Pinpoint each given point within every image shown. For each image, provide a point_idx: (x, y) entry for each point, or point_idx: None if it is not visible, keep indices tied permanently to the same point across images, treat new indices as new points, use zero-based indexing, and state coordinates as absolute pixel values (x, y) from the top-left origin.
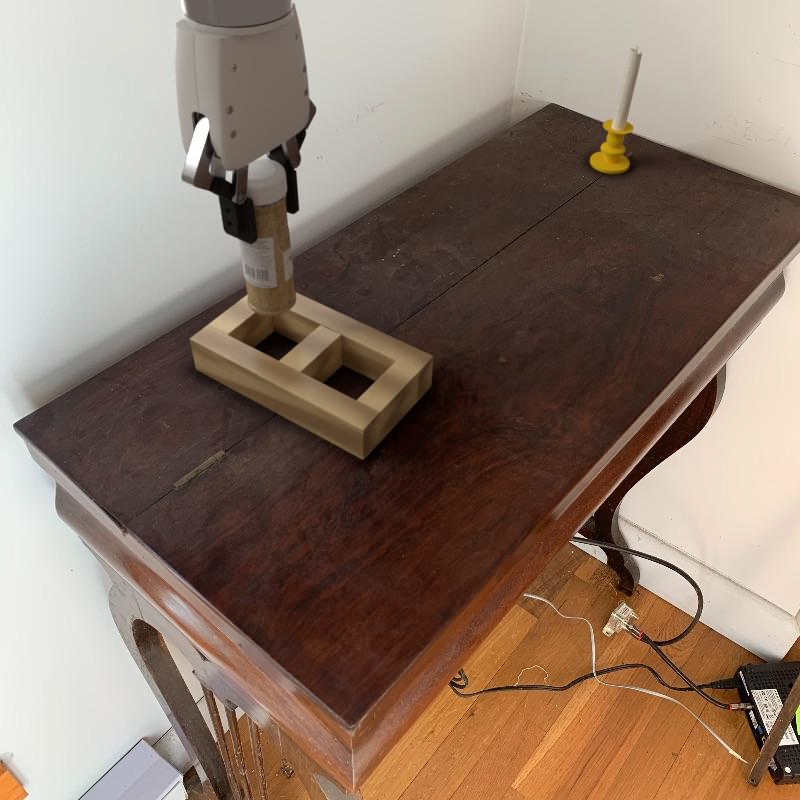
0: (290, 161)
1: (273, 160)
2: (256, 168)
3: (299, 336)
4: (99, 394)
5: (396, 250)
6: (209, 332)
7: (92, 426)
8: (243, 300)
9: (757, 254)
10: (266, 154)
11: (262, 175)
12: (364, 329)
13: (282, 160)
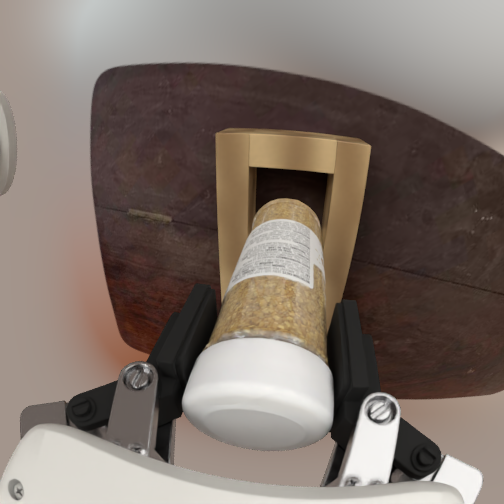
0: (333, 450)
1: (339, 423)
2: (264, 427)
3: (325, 203)
4: (149, 80)
5: (490, 216)
6: (238, 146)
7: (123, 110)
8: (315, 142)
9: (486, 389)
10: (359, 410)
11: (243, 438)
12: (336, 288)
13: (338, 438)
